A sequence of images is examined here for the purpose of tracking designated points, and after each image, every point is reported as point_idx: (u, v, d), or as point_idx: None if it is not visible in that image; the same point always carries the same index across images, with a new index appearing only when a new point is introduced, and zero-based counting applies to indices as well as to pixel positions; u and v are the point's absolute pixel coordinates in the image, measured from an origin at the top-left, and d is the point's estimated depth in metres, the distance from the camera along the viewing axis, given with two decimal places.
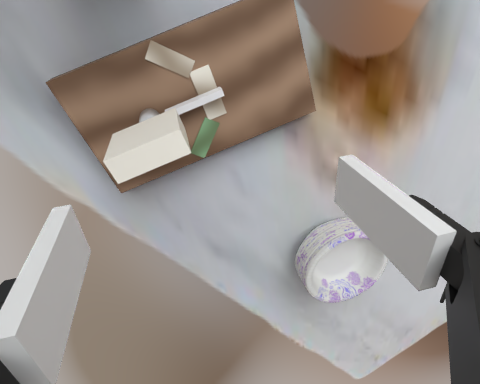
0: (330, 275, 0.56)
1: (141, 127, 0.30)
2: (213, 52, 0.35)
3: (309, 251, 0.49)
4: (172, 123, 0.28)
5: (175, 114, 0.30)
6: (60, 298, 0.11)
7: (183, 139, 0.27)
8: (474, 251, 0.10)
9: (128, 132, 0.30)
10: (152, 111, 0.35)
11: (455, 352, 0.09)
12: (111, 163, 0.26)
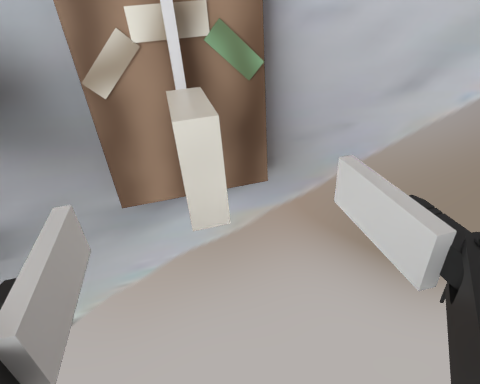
0: None
1: None
2: None
3: None
4: None
5: None
6: (60, 298, 0.11)
7: (191, 121, 0.16)
8: (474, 251, 0.10)
9: None
10: None
11: (455, 352, 0.09)
12: (198, 223, 0.19)
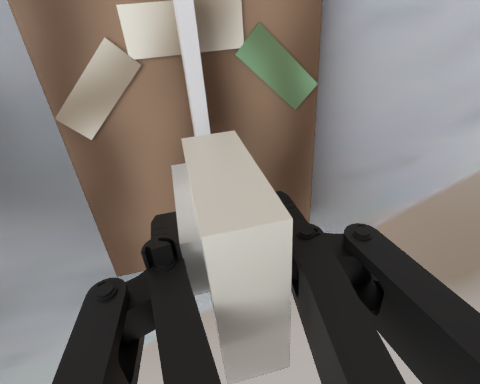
0: None
1: None
2: None
3: None
4: None
5: (186, 163, 0.12)
6: None
7: (239, 232, 0.08)
8: (299, 245, 0.10)
9: None
10: None
11: (313, 346, 0.09)
12: (238, 373, 0.11)
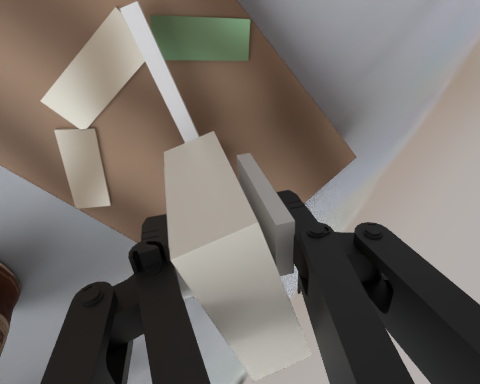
0: None
1: None
2: (10, 100, 0.15)
3: None
4: None
5: None
6: None
7: (207, 246, 0.08)
8: (309, 243, 0.11)
9: None
10: None
11: (322, 344, 0.09)
12: (260, 370, 0.11)
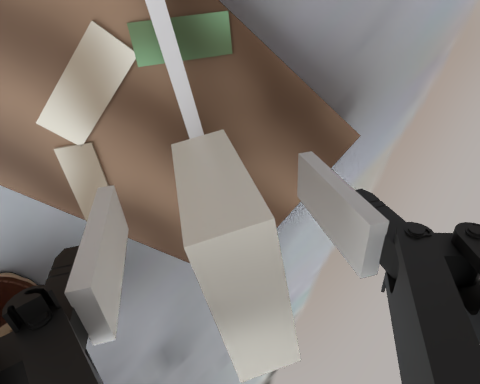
0: None
1: None
2: (8, 126, 0.16)
3: None
4: None
5: None
6: (113, 265, 0.12)
7: (221, 237, 0.08)
8: (405, 241, 0.10)
9: None
10: None
11: (400, 341, 0.09)
12: (249, 371, 0.11)
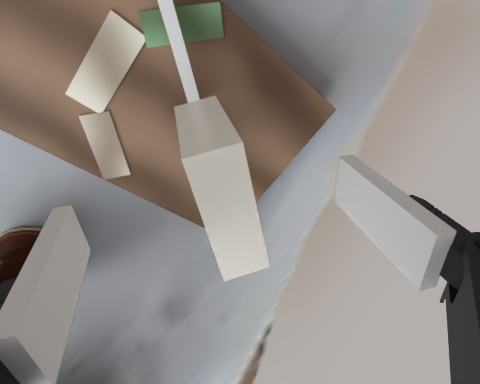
0: None
1: None
2: (43, 96, 0.20)
3: None
4: None
5: None
6: (60, 298, 0.11)
7: (207, 154, 0.12)
8: (474, 251, 0.10)
9: None
10: None
11: (455, 352, 0.09)
12: (230, 272, 0.15)
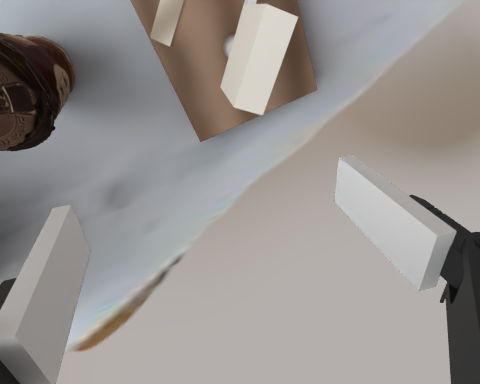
0: None
1: (234, 53, 0.26)
2: None
3: None
4: (255, 12, 0.22)
5: (249, 6, 0.24)
6: (60, 298, 0.11)
7: (278, 10, 0.20)
8: (474, 251, 0.10)
9: (229, 69, 0.27)
10: (230, 37, 0.30)
11: (455, 352, 0.09)
12: (241, 102, 0.23)
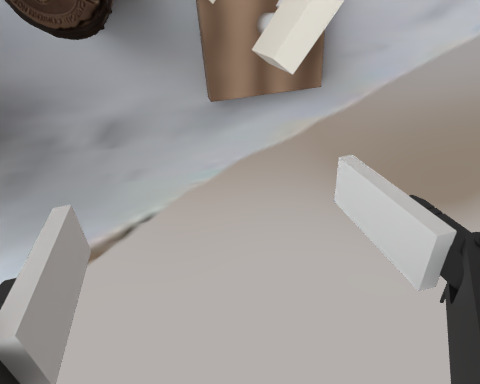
0: None
1: (276, 21, 0.30)
2: None
3: None
4: None
5: None
6: (60, 298, 0.11)
7: None
8: (474, 251, 0.10)
9: (267, 34, 0.30)
10: (267, 13, 0.34)
11: (455, 352, 0.09)
12: (280, 56, 0.27)
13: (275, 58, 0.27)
